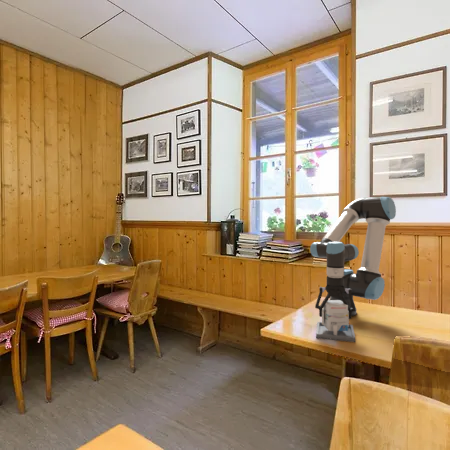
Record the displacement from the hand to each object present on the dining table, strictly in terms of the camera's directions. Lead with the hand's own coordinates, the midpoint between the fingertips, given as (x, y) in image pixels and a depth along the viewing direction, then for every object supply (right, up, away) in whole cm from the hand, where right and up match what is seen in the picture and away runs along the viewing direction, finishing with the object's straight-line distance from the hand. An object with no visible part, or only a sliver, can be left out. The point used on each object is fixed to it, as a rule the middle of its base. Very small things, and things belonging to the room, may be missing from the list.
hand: (335, 324), depth 146 cm
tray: (0, -4, 0) cm, 4 cm away
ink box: (0, -2, 0) cm, 2 cm away
